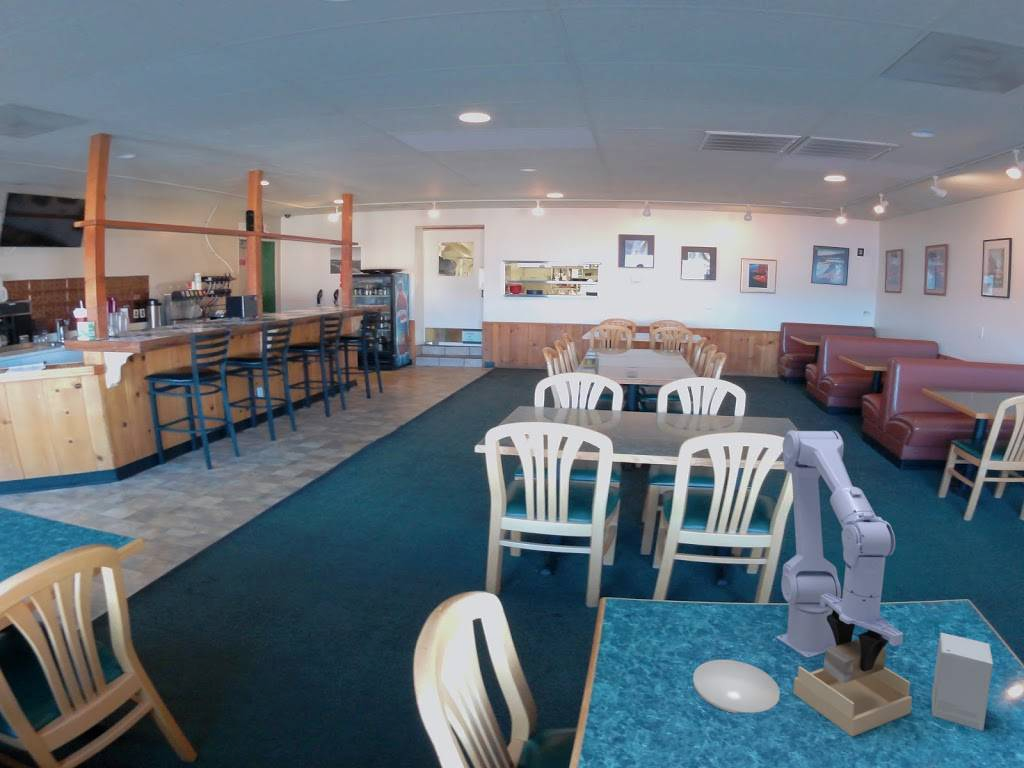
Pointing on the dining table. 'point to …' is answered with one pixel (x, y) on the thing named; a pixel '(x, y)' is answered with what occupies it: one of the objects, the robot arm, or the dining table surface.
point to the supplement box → (962, 680)
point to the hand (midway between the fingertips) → (854, 661)
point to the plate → (735, 686)
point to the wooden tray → (855, 698)
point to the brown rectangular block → (849, 662)
